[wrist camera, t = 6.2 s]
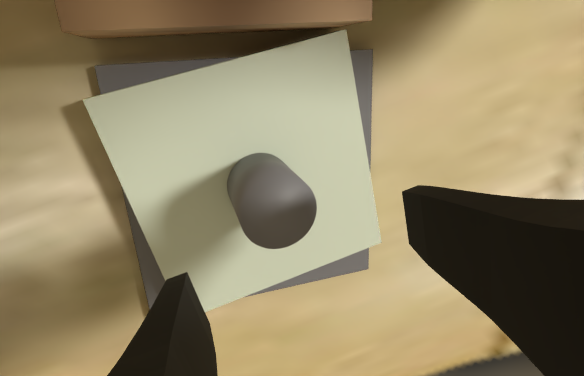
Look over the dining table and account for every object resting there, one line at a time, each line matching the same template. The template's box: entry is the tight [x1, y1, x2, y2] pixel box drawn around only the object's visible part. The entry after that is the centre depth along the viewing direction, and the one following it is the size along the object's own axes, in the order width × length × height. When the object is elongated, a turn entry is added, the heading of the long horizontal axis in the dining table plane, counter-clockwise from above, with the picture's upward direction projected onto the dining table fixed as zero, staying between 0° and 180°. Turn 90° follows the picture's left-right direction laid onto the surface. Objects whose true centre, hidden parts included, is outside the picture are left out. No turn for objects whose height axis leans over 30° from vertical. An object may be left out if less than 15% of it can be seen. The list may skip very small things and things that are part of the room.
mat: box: [94, 49, 373, 309], centre depth 18 cm, size 12×12×1 cm
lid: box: [83, 29, 382, 312], centre depth 16 cm, size 11×11×4 cm
